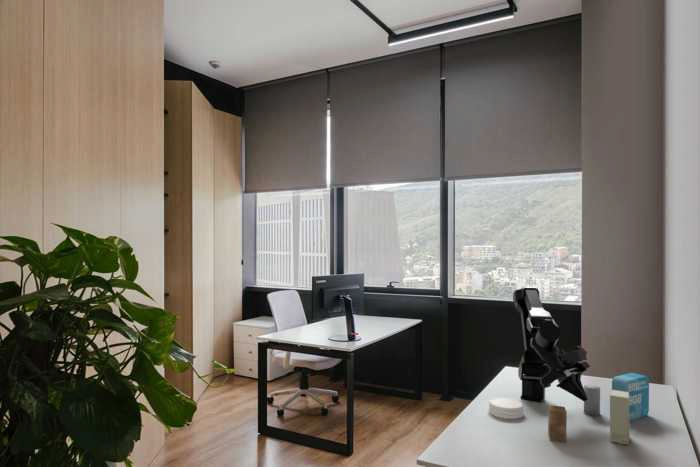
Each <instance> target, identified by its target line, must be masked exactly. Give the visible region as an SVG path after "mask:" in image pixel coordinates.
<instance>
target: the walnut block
mask: <svg viewBox="0 0 700 467" xmlns="http://www.w3.org/2000/svg"><path fill="white" fill-rule="evenodd" d="M567 414H568V413H567V410H566V407H565V406H559V405H552V404H551V405H550V404H548V416H547V417H548V418H547V420H548V422H547V424H548V425H547V431H548V432H547V436H548V439H549V440H548V441H550V442H555V443H564V444H566V443H567V435H568V434H567V432H568V430H567V427H568V426H567V424H568V422H567V418H568V417H567V416H568V415H567Z"/></svg>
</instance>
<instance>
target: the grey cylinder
mask: <svg viewBox="0 0 700 467" xmlns="http://www.w3.org/2000/svg"><path fill="white" fill-rule="evenodd" d="M583 388H584V391H585V393H586V395H587V398H588V400H586V401H583V413H584V414H585V415H589V416H592V417H599V416H600V415H601V388H600V386H597V385H593V384H584V386H583Z"/></svg>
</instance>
